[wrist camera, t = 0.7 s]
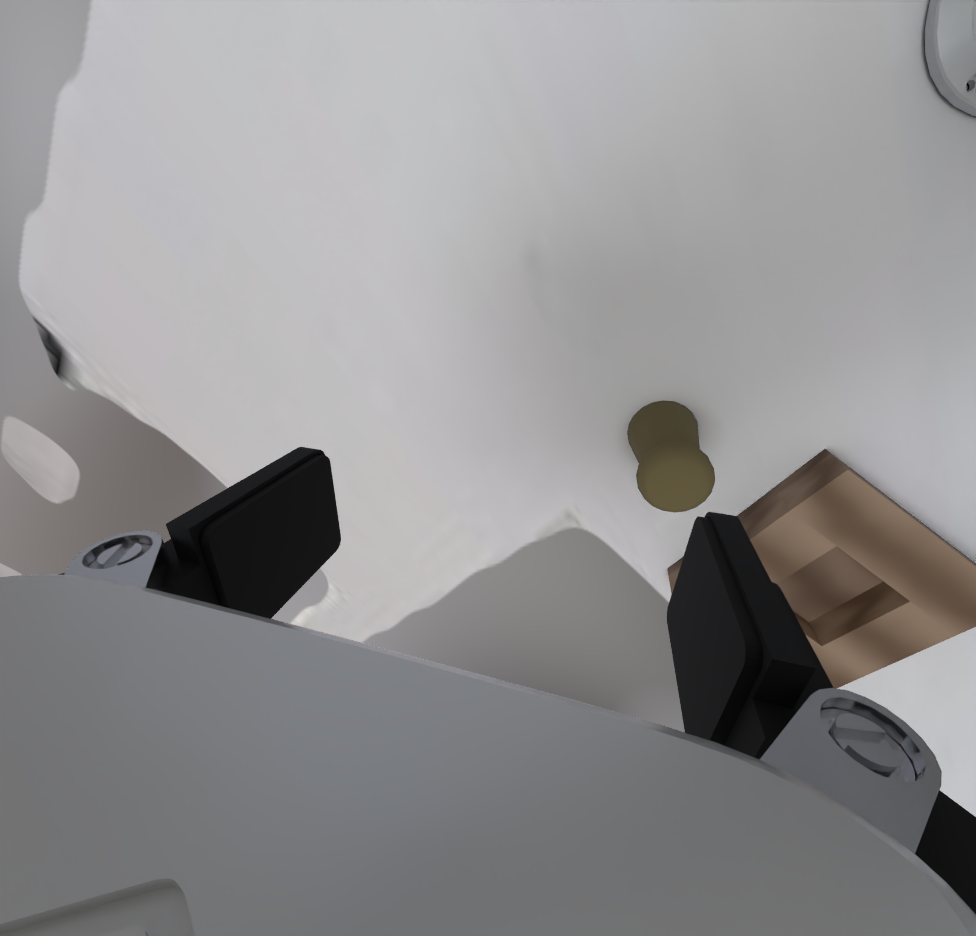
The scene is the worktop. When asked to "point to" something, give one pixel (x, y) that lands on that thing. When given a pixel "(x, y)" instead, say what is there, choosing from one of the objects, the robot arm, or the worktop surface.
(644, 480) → the olive pepper mill
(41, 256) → the worktop surface
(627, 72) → the worktop surface
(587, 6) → the worktop surface
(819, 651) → the walnut holder
